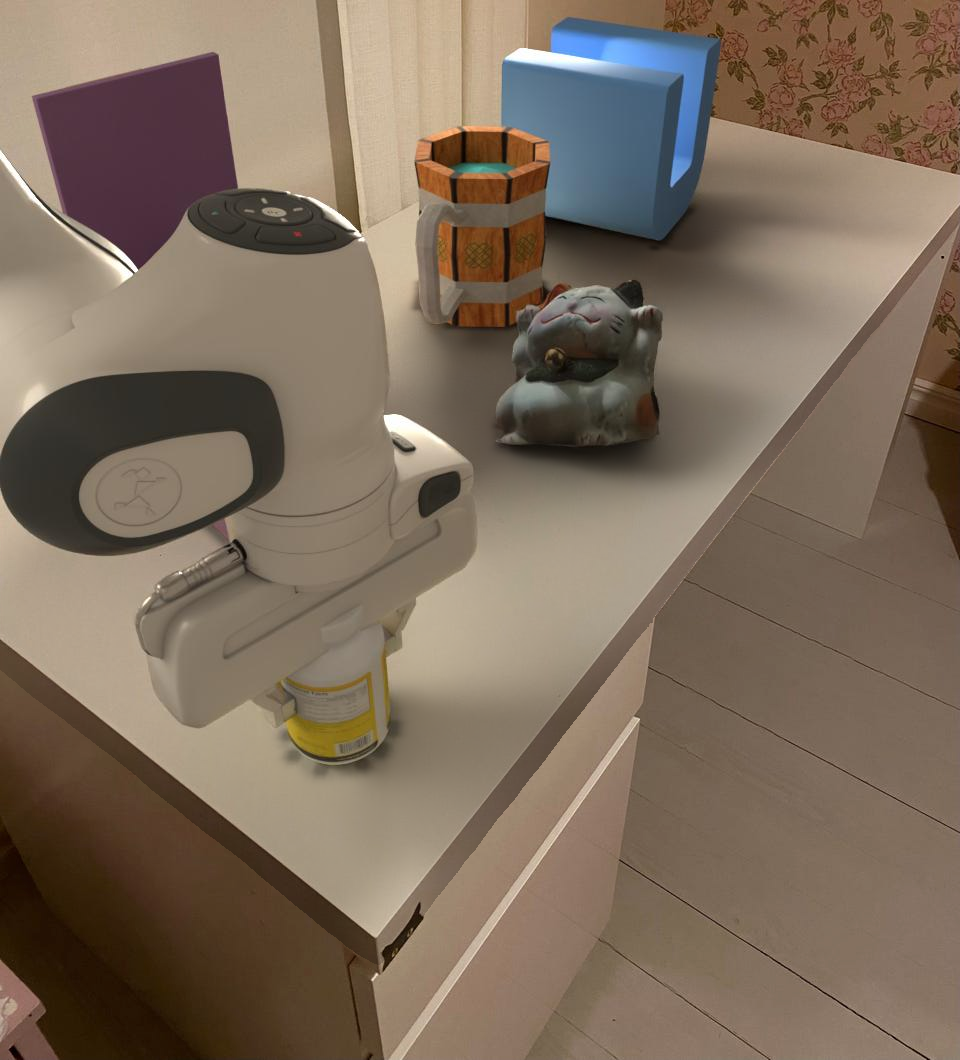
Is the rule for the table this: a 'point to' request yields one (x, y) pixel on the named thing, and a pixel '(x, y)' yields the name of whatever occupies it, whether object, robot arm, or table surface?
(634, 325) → the lucky cat figurine
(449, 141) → the wooden beer tankard
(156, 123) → the lid
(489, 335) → the table surface
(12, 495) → the robot arm
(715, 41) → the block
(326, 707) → the pill bottle
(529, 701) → the table surface
